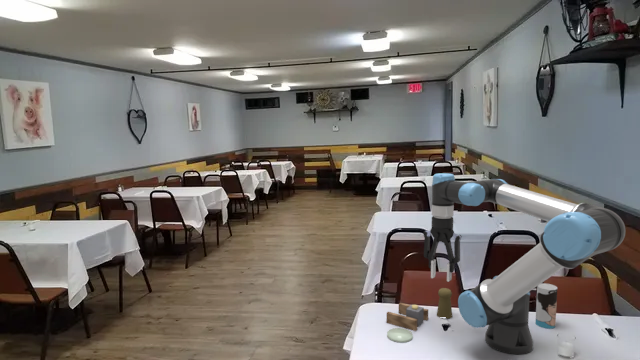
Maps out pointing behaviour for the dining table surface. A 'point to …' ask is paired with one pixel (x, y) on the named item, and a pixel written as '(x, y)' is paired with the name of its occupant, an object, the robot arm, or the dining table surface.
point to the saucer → (400, 335)
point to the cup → (546, 306)
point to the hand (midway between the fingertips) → (441, 278)
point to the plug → (415, 313)
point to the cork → (444, 303)
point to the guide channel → (404, 318)
